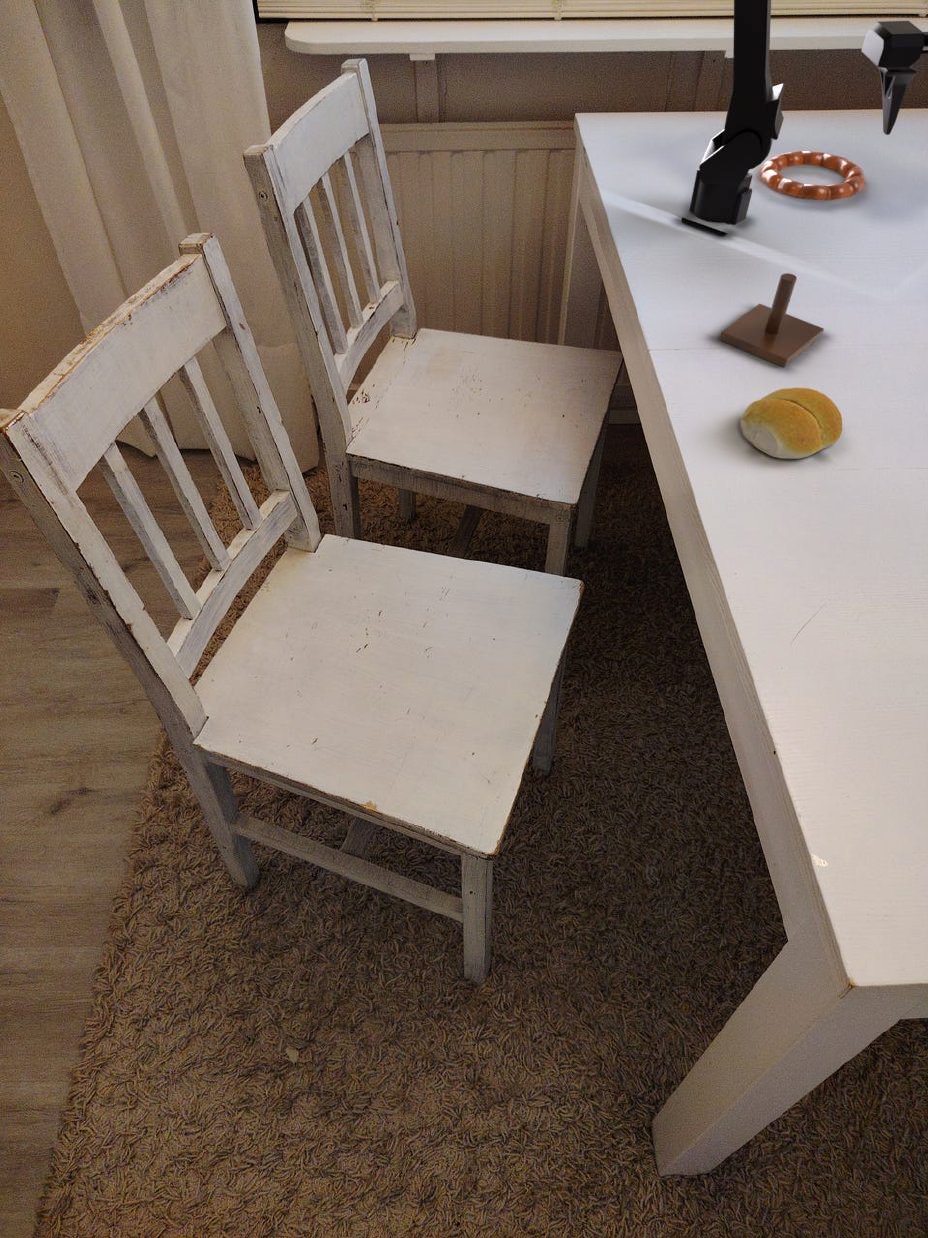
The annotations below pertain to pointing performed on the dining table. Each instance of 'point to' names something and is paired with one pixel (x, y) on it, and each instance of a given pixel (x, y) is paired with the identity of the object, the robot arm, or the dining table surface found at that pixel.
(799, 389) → the bread roll
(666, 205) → the dining table surface
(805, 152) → the segmented orange ring
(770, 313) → the stand
